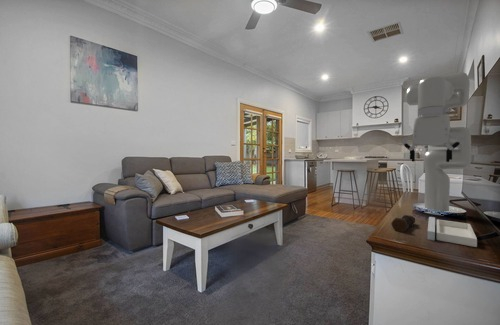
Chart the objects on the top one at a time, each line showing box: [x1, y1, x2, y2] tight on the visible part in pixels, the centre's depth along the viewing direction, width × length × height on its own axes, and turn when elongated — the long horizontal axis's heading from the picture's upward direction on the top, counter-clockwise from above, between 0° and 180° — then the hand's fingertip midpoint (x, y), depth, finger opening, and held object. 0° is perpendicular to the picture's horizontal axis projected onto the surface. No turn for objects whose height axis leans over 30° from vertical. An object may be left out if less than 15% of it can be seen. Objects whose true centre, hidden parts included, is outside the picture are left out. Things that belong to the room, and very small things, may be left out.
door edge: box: [426, 216, 436, 241], centre depth 87 cm, size 22×2×3 cm, turn 140°
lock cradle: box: [435, 218, 478, 248], centre depth 83 cm, size 20×10×3 cm, turn 140°
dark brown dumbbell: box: [391, 214, 416, 233], centre depth 93 cm, size 6×5×15 cm
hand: (429, 161), depth 80 cm, fingers open, 9 cm apart
